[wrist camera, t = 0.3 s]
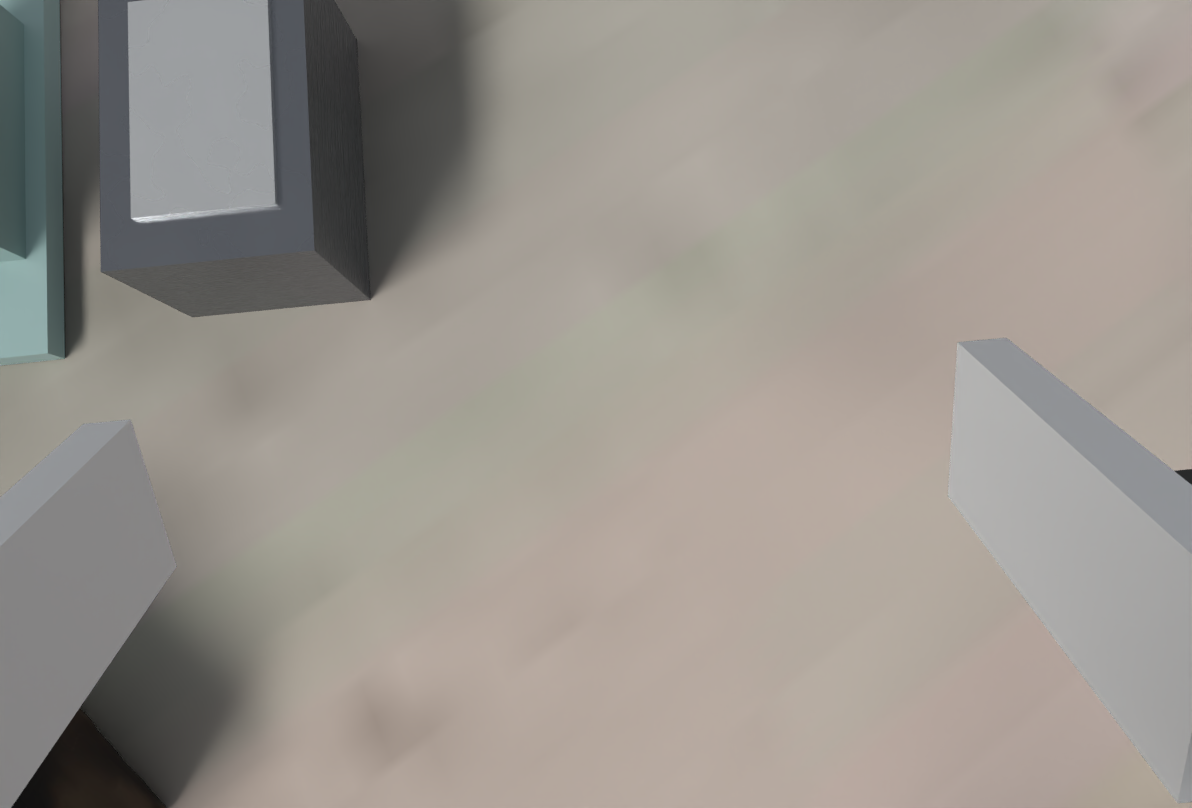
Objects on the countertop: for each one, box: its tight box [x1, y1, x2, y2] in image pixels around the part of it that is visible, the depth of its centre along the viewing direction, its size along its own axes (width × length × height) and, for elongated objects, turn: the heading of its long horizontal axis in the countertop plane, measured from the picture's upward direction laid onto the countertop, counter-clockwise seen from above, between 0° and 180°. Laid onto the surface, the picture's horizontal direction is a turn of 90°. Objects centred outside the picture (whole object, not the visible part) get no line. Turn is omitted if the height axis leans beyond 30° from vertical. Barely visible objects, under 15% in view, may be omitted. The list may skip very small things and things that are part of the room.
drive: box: [98, 0, 370, 317], centre depth 32 cm, size 10×6×6 cm, turn 5°
